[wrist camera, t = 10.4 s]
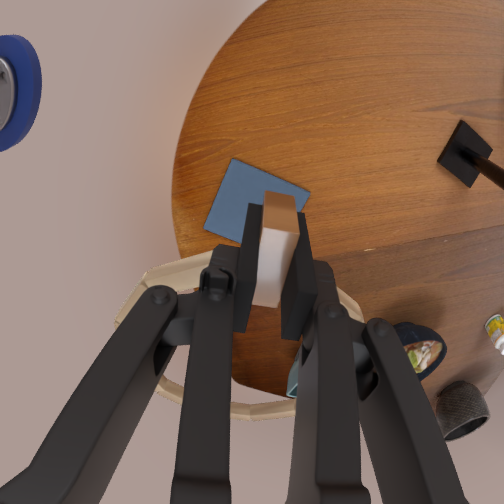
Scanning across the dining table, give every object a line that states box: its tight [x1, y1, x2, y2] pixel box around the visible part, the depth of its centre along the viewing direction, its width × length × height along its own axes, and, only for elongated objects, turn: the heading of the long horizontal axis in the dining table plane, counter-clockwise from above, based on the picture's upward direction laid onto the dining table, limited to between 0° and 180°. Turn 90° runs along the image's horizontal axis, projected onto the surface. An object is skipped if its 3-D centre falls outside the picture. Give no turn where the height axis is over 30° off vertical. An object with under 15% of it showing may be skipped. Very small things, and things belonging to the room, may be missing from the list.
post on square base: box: [437, 120, 504, 190], centre depth 31 cm, size 8×8×14 cm
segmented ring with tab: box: [114, 190, 364, 421], centre depth 21 cm, size 24×20×4 cm
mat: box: [203, 158, 310, 243], centre depth 45 cm, size 12×12×1 cm
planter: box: [436, 381, 490, 442], centre depth 67 cm, size 17×17×16 cm
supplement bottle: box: [485, 314, 504, 355], centre depth 53 cm, size 5×5×10 cm
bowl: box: [393, 322, 447, 381], centre depth 55 cm, size 17×17×10 cm
